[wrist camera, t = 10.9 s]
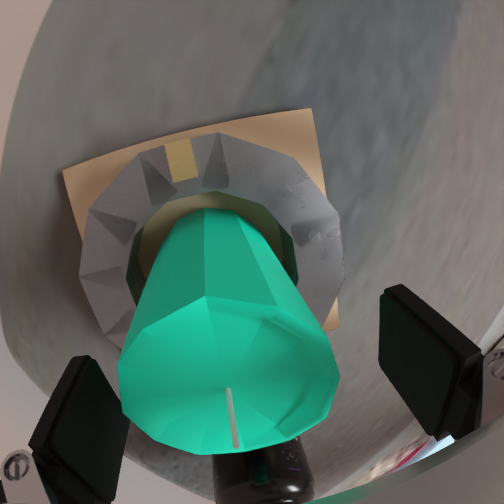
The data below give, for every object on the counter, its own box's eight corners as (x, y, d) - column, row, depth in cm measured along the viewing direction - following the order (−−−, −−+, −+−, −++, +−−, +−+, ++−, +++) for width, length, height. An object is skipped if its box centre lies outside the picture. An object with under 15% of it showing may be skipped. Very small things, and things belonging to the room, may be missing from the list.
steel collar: (330, 323, 20) (353, 356, 16) (144, 366, 19) (136, 406, 15) (303, 119, 15) (330, 112, 12) (73, 177, 14) (40, 186, 11)
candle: (283, 229, 17) (409, 369, 6) (243, 319, 19) (291, 500, 7) (180, 190, 16) (122, 299, 4) (147, 289, 17) (96, 474, 6)
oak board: (333, 320, 21) (338, 327, 20) (141, 365, 20) (139, 374, 19) (305, 110, 16) (311, 108, 15) (69, 168, 15) (62, 170, 14)
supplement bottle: (288, 381, 22) (337, 515, 11) (290, 430, 25) (328, 540, 13) (200, 396, 22) (209, 538, 10) (217, 443, 24) (231, 558, 13)
